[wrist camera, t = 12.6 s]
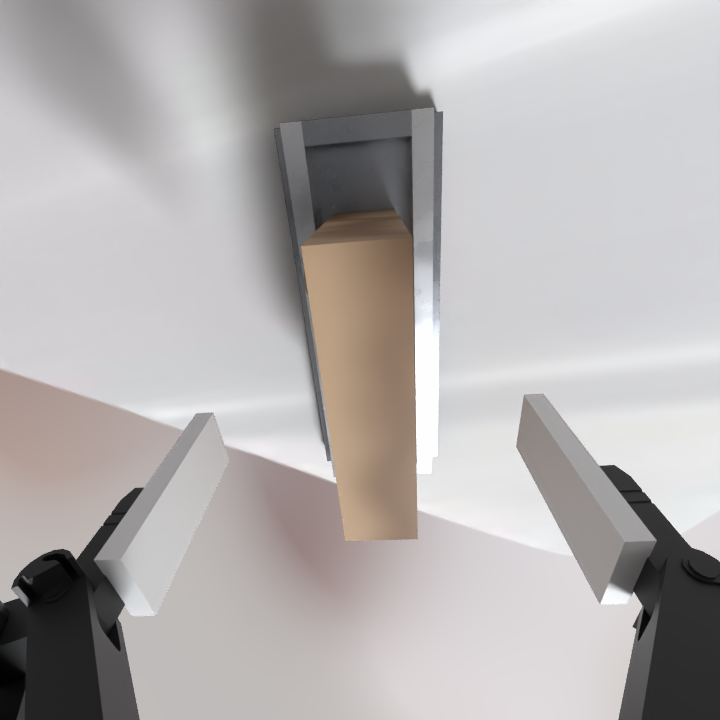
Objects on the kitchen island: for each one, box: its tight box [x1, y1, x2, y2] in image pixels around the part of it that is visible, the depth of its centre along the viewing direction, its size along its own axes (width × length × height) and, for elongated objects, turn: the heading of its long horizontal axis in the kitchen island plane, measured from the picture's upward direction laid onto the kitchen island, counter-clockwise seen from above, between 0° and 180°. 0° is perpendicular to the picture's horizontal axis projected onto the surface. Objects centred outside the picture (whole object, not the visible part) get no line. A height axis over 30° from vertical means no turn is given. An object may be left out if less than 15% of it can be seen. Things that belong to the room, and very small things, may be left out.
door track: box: [274, 107, 443, 477], centre depth 27 cm, size 10×26×4 cm, turn 5°
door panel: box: [301, 209, 418, 541], centre depth 22 cm, size 5×16×12 cm, turn 5°
